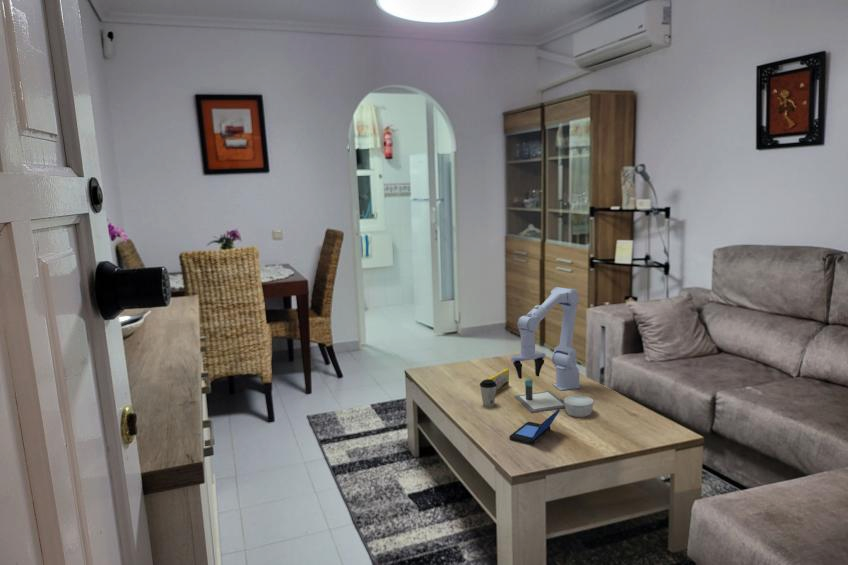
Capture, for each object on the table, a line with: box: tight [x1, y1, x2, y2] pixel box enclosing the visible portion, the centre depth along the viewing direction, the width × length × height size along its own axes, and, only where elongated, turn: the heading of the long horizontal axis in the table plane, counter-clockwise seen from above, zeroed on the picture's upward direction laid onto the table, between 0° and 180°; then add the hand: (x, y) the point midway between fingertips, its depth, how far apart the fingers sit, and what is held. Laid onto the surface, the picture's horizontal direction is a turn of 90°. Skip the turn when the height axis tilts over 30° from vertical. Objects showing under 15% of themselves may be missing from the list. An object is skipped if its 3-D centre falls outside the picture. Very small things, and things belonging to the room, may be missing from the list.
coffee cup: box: [479, 378, 496, 408], centre depth 236 cm, size 7×7×10 cm
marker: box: [524, 378, 534, 400], centre depth 238 cm, size 3×3×8 cm
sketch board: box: [514, 390, 565, 414], centre depth 237 cm, size 16×18×1 cm
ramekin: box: [563, 394, 594, 418], centre depth 224 cm, size 11×11×5 cm
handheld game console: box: [508, 409, 561, 446], centre depth 205 cm, size 16×13×9 cm
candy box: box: [487, 368, 510, 395], centre depth 251 cm, size 16×2×8 cm, turn 143°
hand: (528, 376), depth 237 cm, fingers open, 7 cm apart
